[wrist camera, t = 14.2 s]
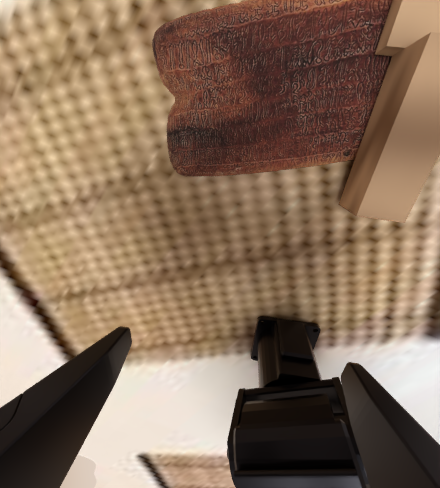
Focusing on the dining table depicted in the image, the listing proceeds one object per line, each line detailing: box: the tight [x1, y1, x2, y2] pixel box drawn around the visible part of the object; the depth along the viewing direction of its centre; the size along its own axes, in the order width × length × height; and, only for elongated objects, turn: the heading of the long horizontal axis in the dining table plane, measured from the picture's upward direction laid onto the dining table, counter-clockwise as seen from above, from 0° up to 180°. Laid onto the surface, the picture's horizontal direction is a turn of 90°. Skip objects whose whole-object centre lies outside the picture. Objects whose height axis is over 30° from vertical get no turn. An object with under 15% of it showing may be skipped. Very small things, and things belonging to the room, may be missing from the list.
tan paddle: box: [339, 0, 440, 223], centre depth 11 cm, size 17×5×3 cm, turn 174°
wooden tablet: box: [152, 0, 393, 176], centre depth 14 cm, size 26×2×10 cm
